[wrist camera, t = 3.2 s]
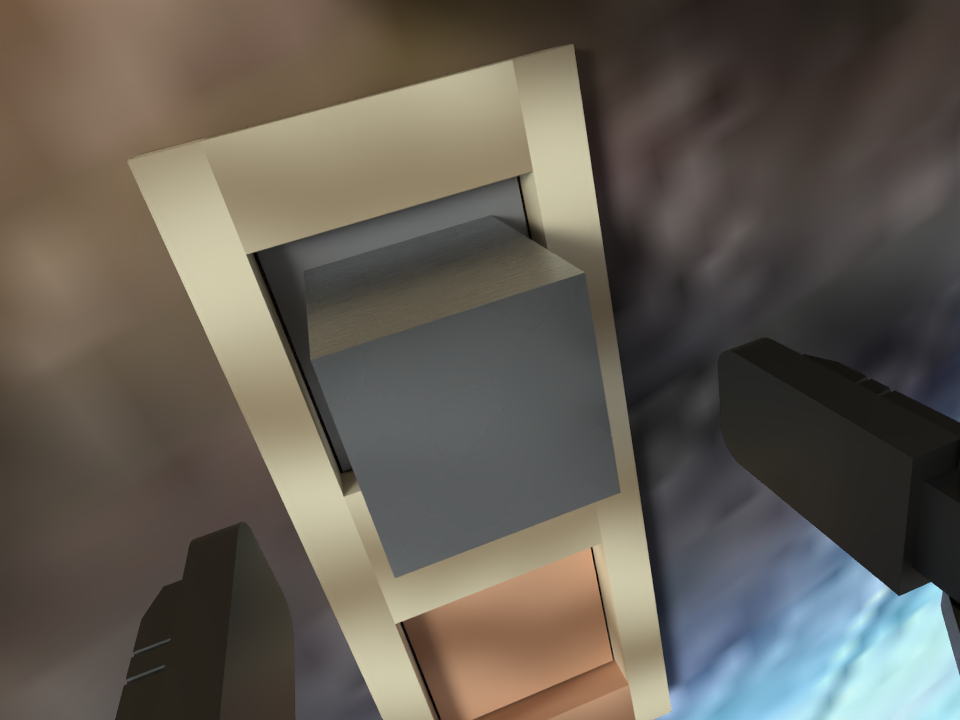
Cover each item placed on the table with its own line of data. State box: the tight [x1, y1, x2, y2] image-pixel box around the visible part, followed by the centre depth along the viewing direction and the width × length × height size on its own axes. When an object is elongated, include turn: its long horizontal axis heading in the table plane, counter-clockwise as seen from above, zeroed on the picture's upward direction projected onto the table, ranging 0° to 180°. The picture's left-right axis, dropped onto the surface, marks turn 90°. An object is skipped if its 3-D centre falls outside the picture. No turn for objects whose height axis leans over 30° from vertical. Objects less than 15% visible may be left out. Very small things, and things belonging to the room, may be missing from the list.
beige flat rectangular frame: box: [127, 44, 671, 720], centre depth 20 cm, size 24×10×1 cm, turn 14°
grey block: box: [304, 215, 621, 578], centre depth 15 cm, size 5×5×6 cm
